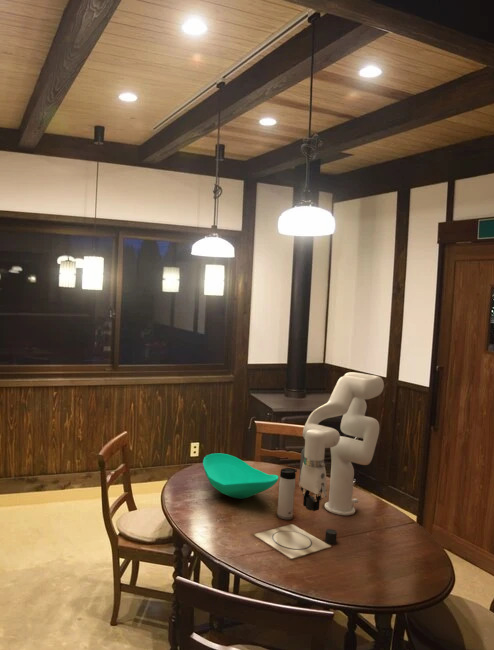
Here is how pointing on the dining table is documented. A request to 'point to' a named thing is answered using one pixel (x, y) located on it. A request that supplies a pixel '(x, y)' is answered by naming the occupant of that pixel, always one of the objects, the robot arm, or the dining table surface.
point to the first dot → (309, 502)
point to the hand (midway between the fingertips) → (311, 507)
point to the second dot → (330, 536)
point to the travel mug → (286, 493)
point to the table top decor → (236, 476)
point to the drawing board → (292, 541)
